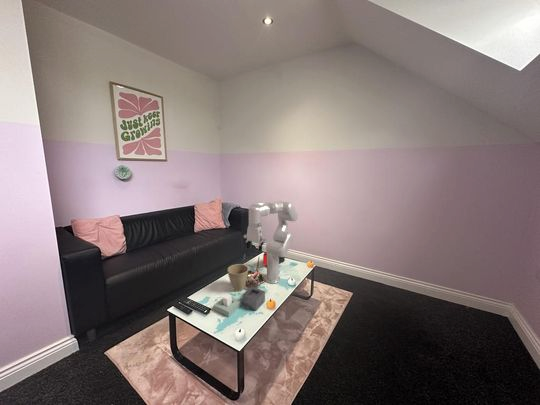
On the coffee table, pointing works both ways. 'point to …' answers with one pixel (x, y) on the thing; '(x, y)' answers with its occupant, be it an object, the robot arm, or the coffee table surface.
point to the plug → (227, 300)
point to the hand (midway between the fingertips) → (254, 249)
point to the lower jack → (227, 310)
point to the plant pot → (238, 276)
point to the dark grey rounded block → (253, 298)
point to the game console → (281, 259)
